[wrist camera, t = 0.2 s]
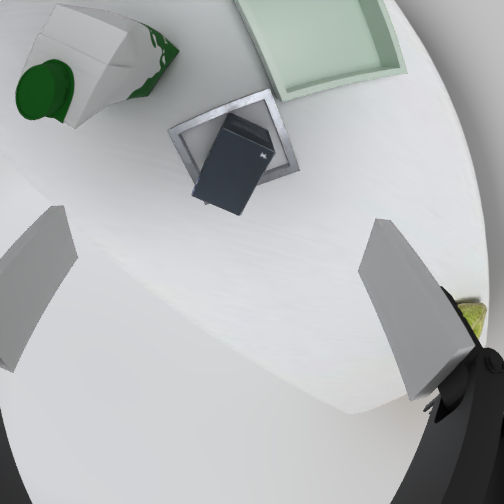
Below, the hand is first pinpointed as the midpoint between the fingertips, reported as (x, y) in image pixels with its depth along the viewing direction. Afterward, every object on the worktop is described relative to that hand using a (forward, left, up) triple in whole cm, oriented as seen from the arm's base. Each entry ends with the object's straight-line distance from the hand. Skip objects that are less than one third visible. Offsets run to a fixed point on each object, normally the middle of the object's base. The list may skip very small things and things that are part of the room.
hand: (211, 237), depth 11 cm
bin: (-9, +14, -27) cm, 31 cm away
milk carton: (-13, -7, -27) cm, 31 cm away
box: (+3, -1, -27) cm, 27 cm away
